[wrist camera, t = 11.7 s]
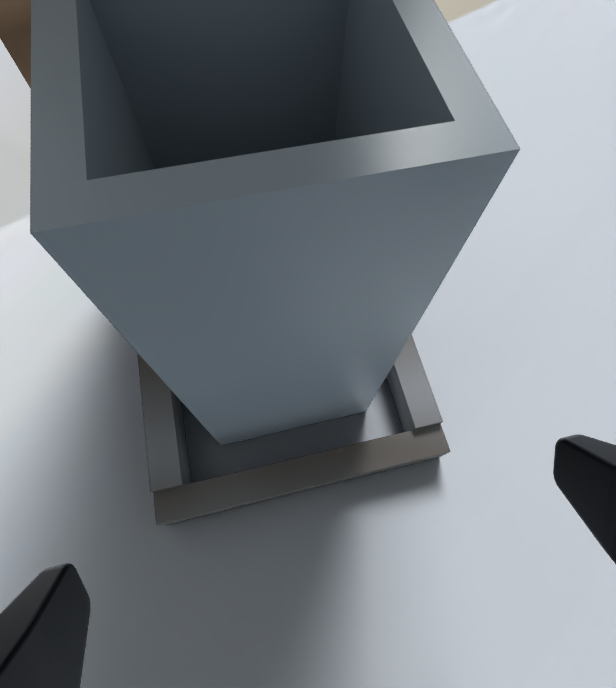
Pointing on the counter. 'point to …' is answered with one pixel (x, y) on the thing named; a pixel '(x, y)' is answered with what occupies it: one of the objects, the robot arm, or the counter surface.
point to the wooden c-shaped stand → (274, 479)
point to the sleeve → (259, 188)
